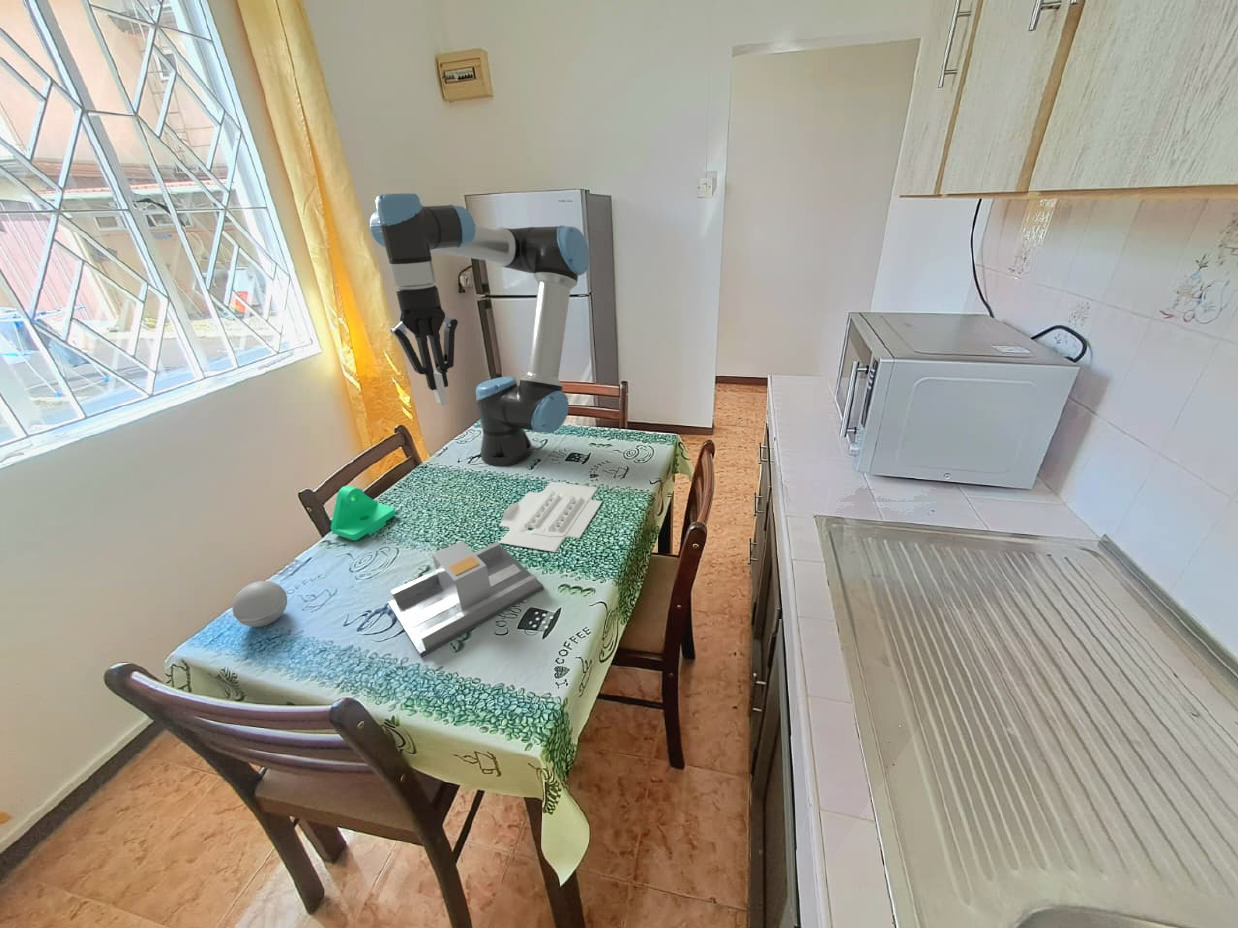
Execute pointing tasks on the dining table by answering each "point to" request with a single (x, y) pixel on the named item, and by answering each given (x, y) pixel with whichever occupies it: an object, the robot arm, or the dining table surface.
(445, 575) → the module
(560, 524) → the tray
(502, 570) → the rail
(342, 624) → the dining table surface
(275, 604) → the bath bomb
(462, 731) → the dining table surface
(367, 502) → the camera mount
